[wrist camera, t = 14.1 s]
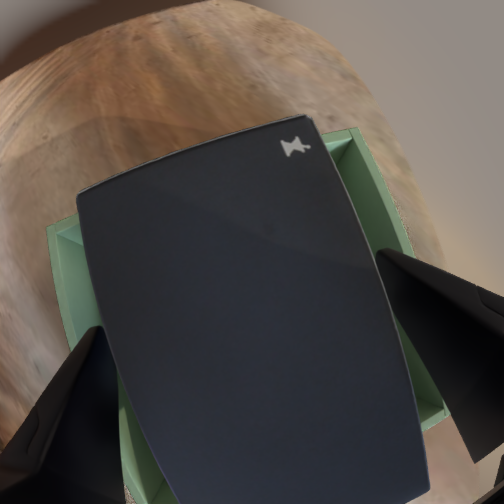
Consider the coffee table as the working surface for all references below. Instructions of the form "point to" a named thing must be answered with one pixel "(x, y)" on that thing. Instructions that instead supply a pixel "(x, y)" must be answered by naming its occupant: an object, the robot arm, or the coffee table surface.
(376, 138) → the coffee table surface
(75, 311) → the basket
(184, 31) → the coffee table surface
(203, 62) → the coffee table surface
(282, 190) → the small box
